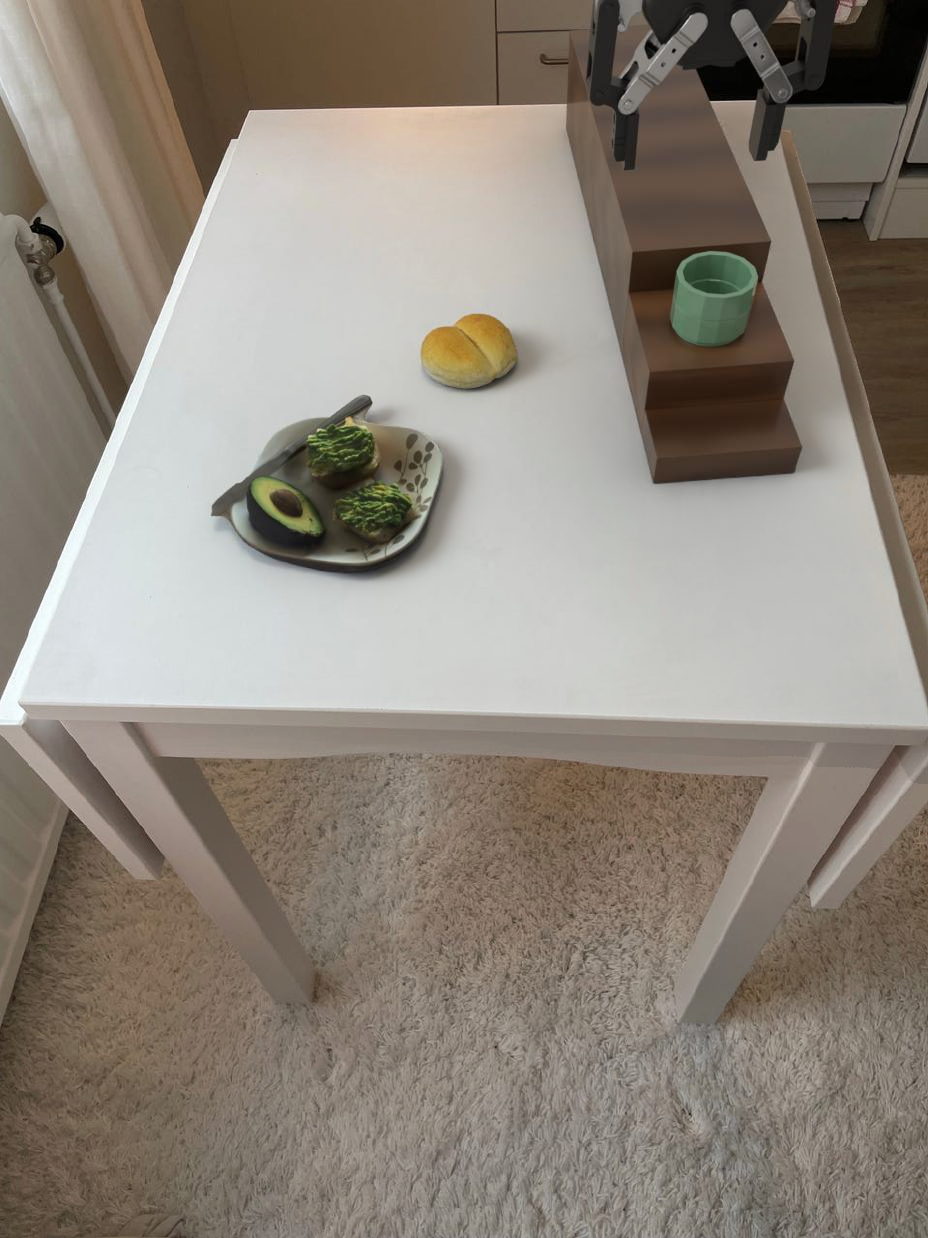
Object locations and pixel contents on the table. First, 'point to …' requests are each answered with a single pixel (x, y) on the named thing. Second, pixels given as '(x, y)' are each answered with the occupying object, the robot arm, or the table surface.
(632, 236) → the wooden stair steps
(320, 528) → the salad plate
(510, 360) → the bread roll
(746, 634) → the table surface
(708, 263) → the cup
